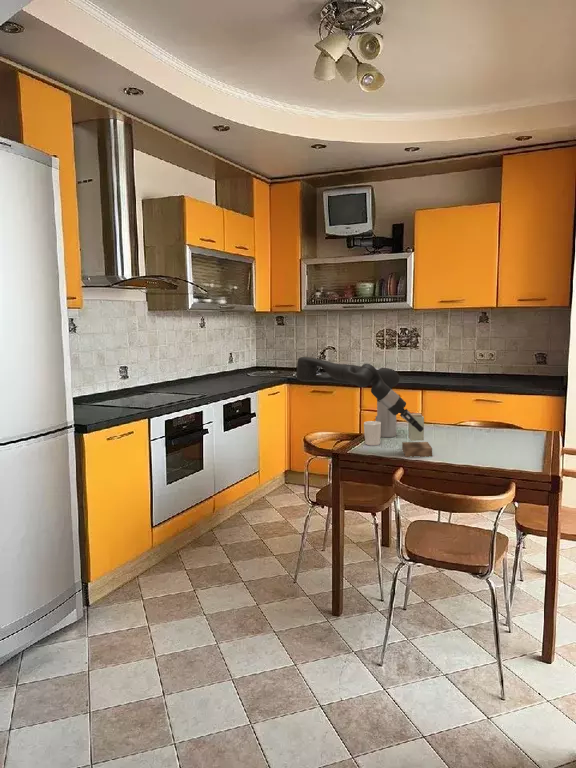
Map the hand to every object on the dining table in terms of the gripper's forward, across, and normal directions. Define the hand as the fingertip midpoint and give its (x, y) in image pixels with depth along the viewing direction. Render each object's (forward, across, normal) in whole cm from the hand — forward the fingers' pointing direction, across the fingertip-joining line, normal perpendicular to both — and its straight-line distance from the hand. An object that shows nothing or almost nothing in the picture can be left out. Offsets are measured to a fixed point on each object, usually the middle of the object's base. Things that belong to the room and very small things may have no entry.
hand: (420, 428), depth 244 cm
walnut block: (+7, 0, -9) cm, 11 cm away
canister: (+2, 0, -4) cm, 5 cm away
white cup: (-5, -19, -21) cm, 29 cm away
